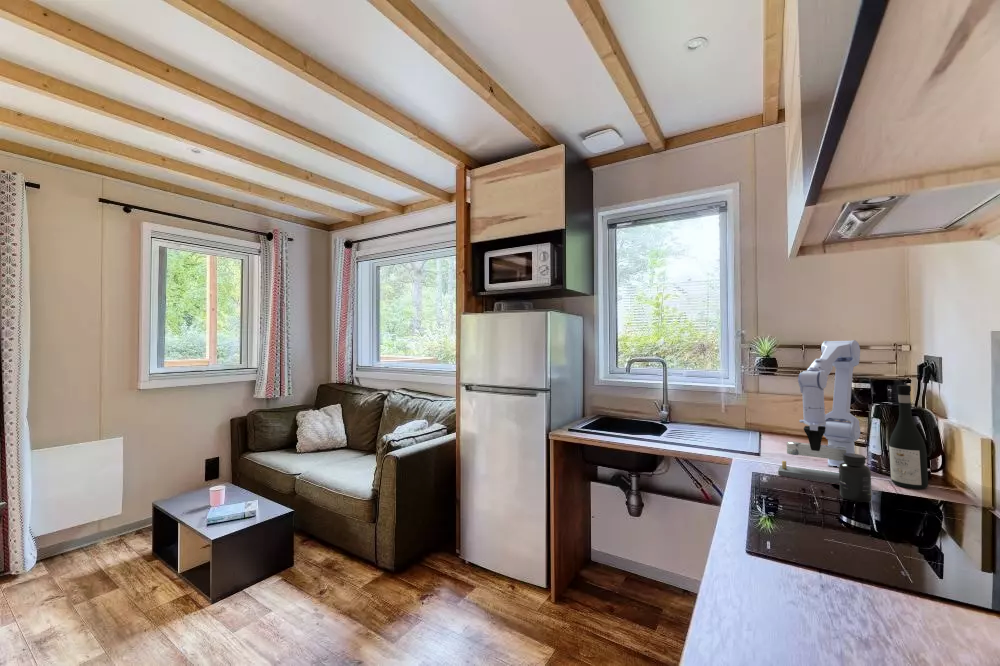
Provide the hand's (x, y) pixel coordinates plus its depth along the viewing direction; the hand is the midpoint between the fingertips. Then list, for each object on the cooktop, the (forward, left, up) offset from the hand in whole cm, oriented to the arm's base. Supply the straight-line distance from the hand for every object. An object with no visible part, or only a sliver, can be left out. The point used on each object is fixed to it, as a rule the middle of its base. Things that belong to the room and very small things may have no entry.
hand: (815, 449), depth 138 cm
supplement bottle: (+19, +9, -9) cm, 23 cm away
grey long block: (0, -1, -2) cm, 2 cm away
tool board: (+2, +1, -9) cm, 9 cm away
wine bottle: (-3, +22, -9) cm, 24 cm away
